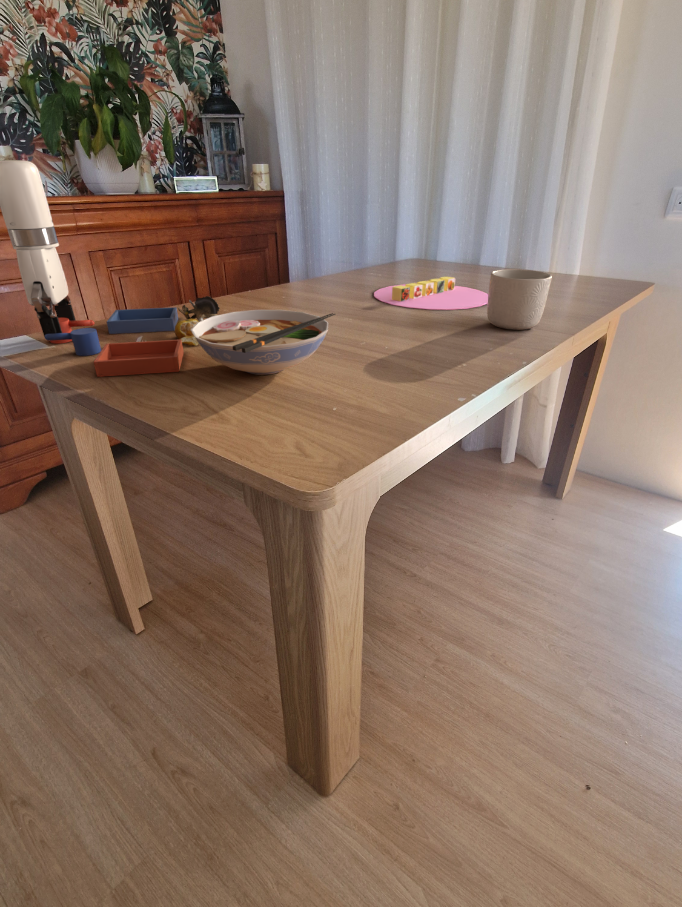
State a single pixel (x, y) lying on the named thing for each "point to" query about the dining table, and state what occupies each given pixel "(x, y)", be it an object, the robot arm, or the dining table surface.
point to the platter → (432, 295)
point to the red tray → (139, 358)
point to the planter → (517, 298)
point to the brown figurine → (201, 308)
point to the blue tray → (142, 320)
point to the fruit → (186, 331)
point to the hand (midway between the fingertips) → (61, 331)
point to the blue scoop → (80, 340)
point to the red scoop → (67, 326)
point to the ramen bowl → (261, 339)
